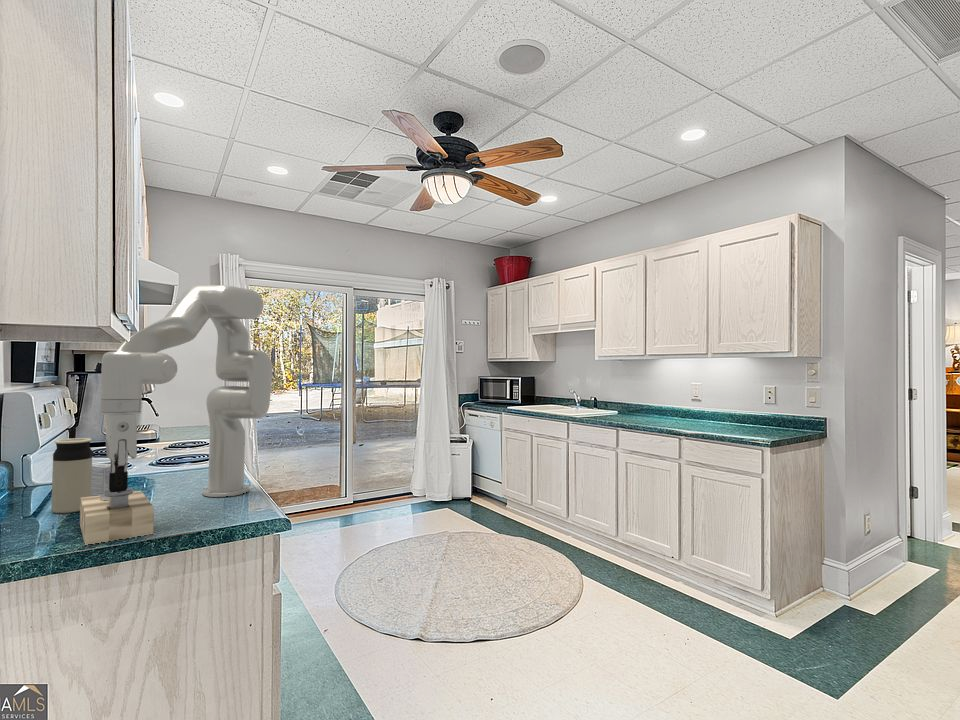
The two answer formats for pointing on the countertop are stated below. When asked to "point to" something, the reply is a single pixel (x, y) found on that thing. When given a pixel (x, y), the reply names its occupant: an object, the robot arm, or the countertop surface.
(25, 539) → the countertop surface
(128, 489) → the grey piece
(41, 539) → the countertop surface
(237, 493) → the robot arm
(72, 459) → the travel mug
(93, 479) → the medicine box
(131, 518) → the oak block
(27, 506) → the countertop surface
